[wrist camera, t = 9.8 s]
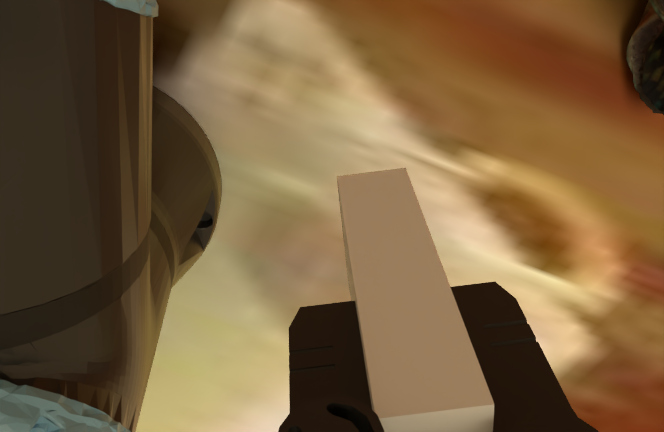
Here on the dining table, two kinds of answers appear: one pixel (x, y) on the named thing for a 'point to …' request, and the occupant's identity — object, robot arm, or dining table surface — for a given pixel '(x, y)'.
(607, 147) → the dining table surface
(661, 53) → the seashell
